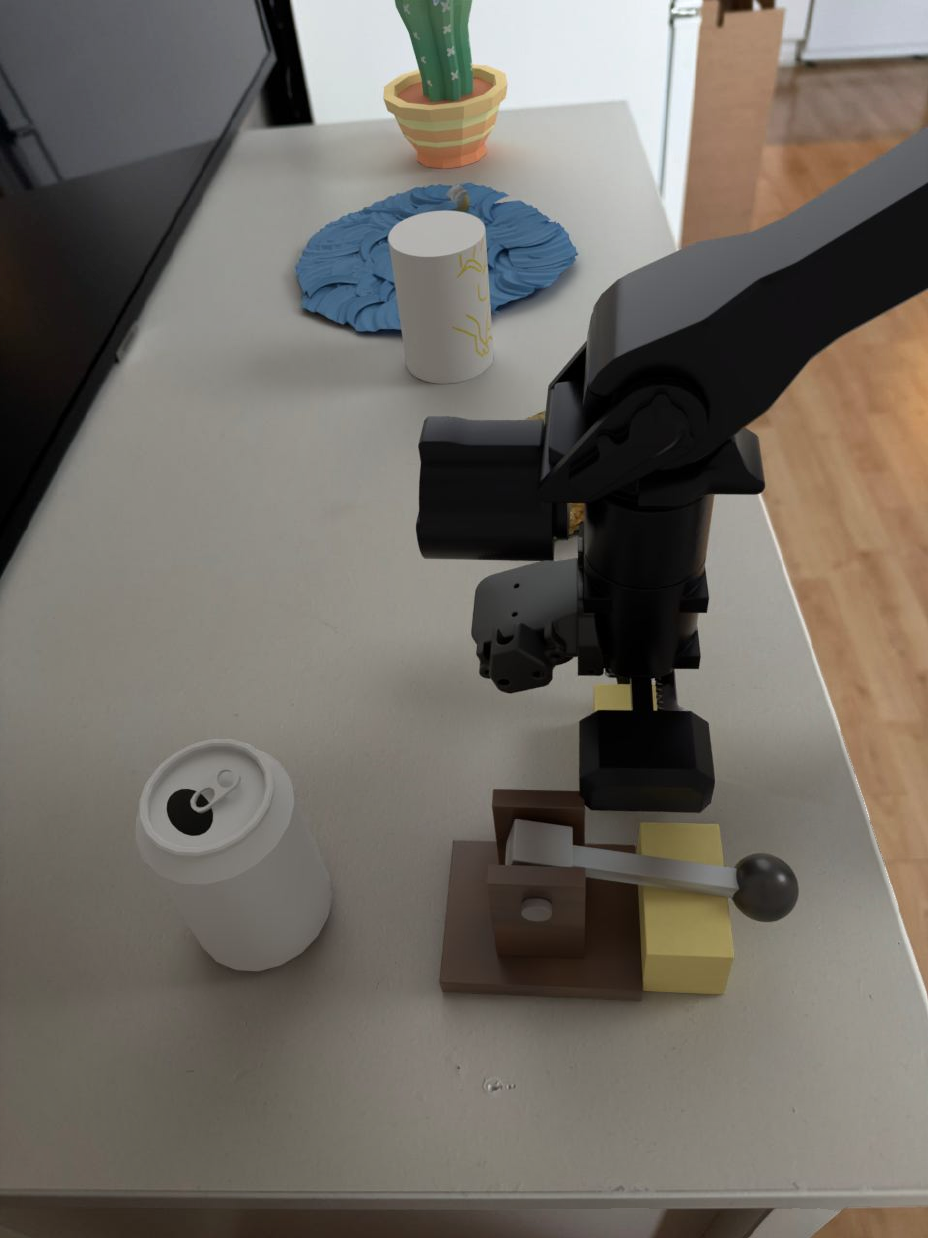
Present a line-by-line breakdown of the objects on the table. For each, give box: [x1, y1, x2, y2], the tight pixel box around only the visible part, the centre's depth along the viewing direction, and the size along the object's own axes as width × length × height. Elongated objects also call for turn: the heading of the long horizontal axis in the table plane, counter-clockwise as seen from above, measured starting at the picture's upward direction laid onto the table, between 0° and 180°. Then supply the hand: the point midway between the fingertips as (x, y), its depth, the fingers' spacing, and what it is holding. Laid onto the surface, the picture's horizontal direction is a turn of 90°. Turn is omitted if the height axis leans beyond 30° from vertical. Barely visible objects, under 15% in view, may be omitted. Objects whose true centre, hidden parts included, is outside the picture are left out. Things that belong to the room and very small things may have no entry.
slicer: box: [438, 788, 644, 1002], centre depth 47 cm, size 10×8×9 cm
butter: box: [636, 821, 735, 996], centre depth 48 cm, size 4×7×4 cm, turn 175°
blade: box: [505, 819, 800, 923], centre depth 45 cm, size 14×3×3 cm, turn 85°
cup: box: [388, 211, 495, 385], centre depth 84 cm, size 8×8×12 cm
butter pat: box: [592, 683, 658, 713], centre depth 56 cm, size 4×4×4 cm
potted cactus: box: [382, 0, 509, 170], centre depth 111 cm, size 15×15×25 cm
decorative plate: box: [294, 182, 579, 333], centre depth 99 cm, size 30×30×5 cm
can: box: [135, 738, 333, 972], centre depth 48 cm, size 8×8×12 cm
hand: (631, 740), depth 56 cm, fingers open, 6 cm apart
